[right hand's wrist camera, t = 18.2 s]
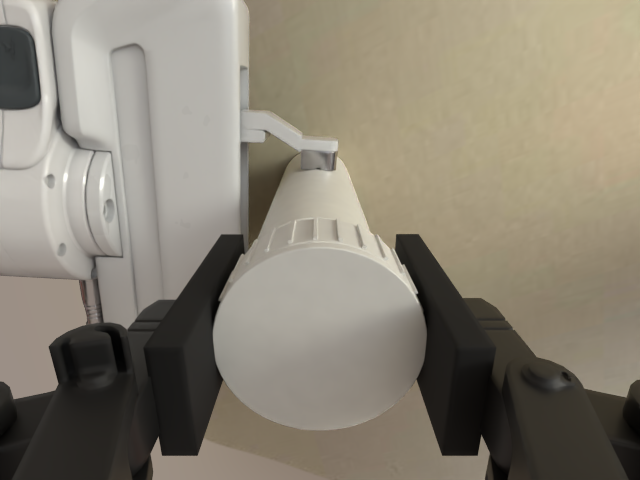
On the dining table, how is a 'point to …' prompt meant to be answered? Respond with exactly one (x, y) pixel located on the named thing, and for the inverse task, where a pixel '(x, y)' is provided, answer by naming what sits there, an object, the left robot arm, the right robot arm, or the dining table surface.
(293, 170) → the white tall cylinder
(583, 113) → the dining table surface
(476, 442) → the right robot arm
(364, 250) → the lid
